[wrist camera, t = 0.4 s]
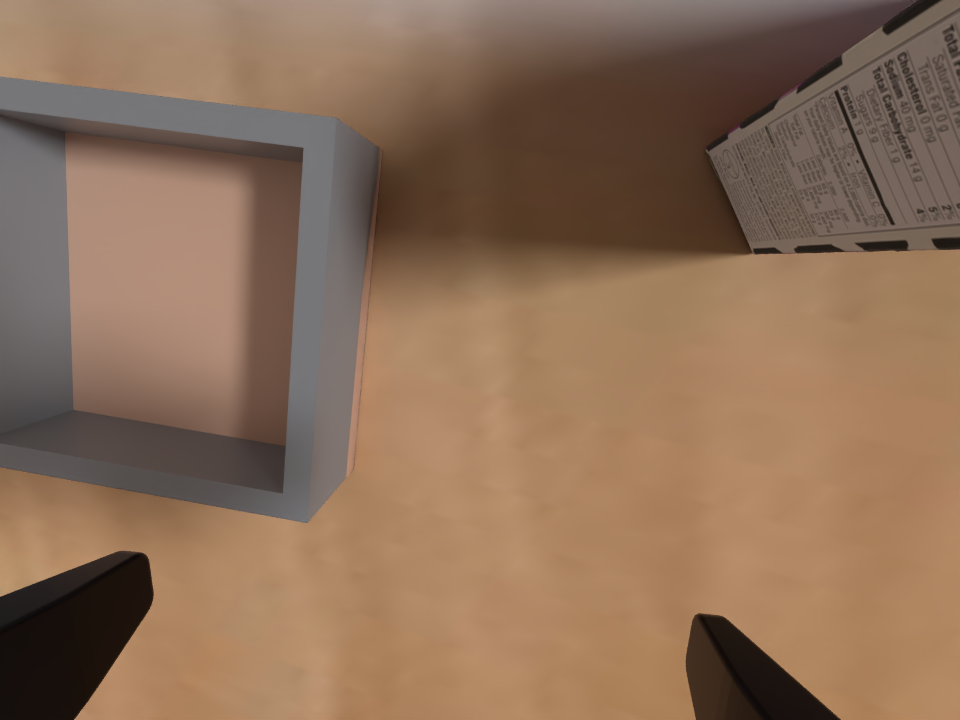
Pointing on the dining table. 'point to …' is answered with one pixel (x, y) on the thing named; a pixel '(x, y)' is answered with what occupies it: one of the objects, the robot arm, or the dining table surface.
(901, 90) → the candy bar box
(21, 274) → the walled box
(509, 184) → the dining table surface
